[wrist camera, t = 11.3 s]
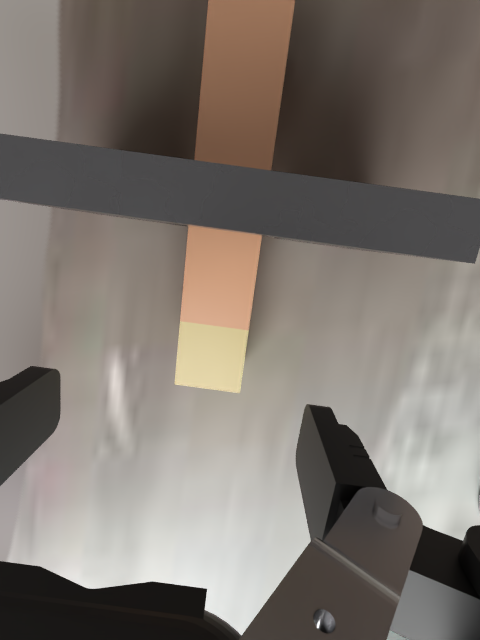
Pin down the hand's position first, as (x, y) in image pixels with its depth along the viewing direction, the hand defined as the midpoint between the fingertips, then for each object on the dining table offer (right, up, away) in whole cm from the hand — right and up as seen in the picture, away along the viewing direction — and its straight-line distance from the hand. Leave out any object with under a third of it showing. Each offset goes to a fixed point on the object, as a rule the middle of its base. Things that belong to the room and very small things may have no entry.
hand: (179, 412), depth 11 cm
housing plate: (+1, +10, +12) cm, 15 cm away
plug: (+1, +10, +12) cm, 15 cm away
